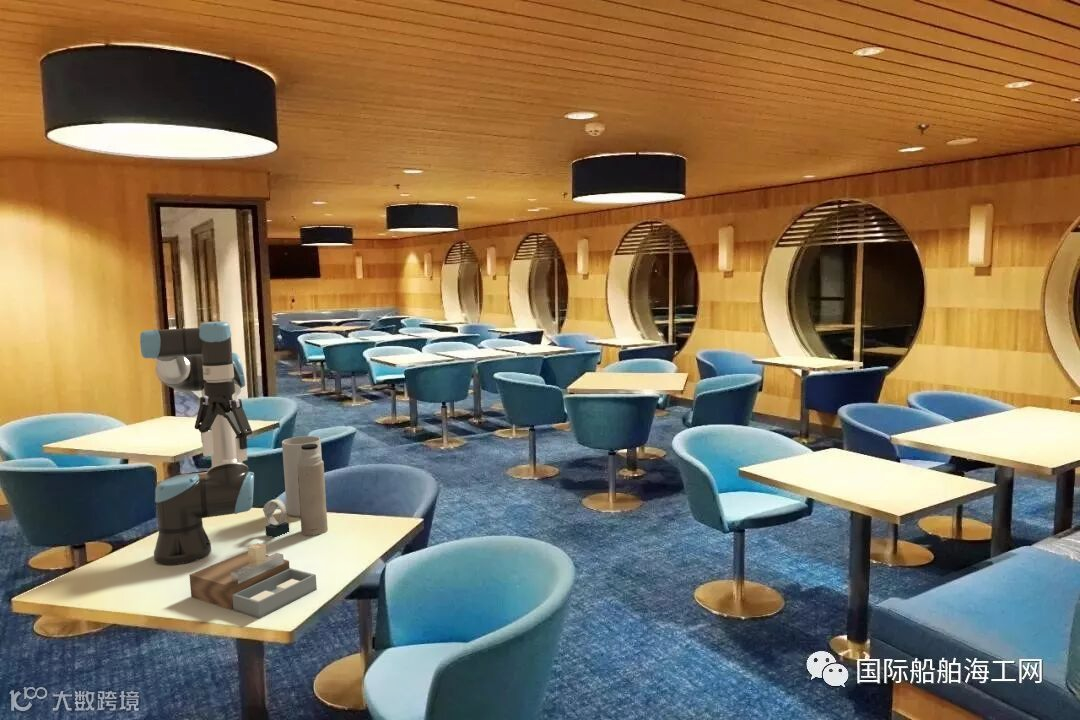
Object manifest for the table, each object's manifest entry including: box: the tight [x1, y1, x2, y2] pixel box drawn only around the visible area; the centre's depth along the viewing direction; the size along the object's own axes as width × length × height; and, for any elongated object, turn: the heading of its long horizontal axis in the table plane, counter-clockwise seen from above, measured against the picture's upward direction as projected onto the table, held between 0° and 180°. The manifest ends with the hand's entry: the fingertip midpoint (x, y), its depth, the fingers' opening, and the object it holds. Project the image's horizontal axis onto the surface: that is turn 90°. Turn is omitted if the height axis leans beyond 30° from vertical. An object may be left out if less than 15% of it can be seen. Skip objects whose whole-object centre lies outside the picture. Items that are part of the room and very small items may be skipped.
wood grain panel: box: [189, 550, 291, 611], centre depth 193 cm, size 16×18×6 cm
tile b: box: [276, 579, 299, 592], centre depth 189 cm, size 5×5×2 cm
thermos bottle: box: [297, 444, 329, 536], centre depth 234 cm, size 8×8×28 cm
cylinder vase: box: [281, 435, 323, 517], centre depth 254 cm, size 12×12×25 cm
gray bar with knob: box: [231, 542, 285, 584], centre depth 189 cm, size 3×14×7 cm, turn 150°
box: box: [232, 567, 318, 620], centre depth 186 cm, size 9×18×4 cm, turn 150°
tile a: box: [250, 590, 274, 601], centre depth 183 cm, size 5×5×2 cm
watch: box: [262, 498, 290, 538], centre depth 233 cm, size 6×8×11 cm
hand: (225, 458), depth 200 cm, fingers open, 13 cm apart
